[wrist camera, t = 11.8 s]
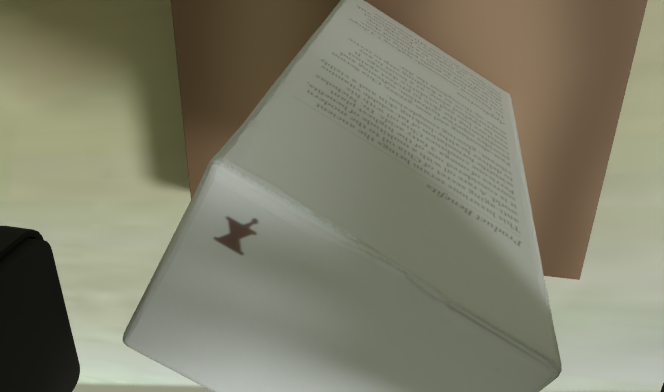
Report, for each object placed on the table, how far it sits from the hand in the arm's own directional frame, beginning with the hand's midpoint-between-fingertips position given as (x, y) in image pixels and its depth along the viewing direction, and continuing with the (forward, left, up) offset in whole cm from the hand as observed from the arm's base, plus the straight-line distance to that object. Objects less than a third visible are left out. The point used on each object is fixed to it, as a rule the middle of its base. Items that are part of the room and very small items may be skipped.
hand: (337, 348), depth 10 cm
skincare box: (0, 0, -12) cm, 12 cm away
